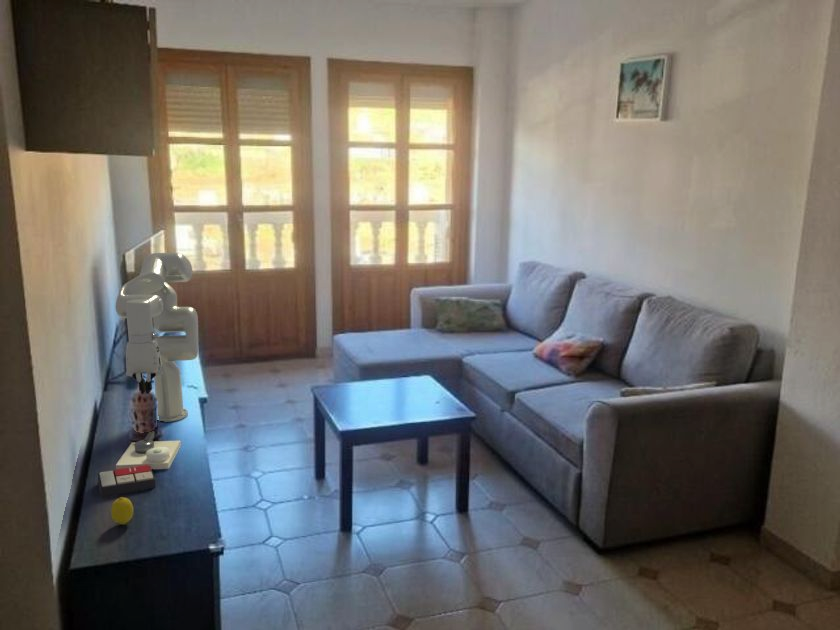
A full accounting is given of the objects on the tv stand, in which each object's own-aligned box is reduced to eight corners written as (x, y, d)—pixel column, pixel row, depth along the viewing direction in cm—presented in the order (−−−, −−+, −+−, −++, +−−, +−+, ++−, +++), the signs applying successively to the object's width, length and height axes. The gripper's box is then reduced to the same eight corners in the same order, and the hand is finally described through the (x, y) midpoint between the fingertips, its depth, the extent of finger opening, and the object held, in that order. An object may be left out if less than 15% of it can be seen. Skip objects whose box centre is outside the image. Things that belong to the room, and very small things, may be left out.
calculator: (155, 477, 208) (100, 485, 200) (155, 490, 208) (101, 499, 201) (150, 463, 217) (97, 470, 210) (150, 475, 218) (98, 483, 211)
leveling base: (132, 447, 236) (131, 435, 235) (180, 445, 238) (180, 433, 237) (116, 471, 219) (114, 457, 218) (168, 468, 220) (167, 455, 219)
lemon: (108, 529, 185) (105, 502, 183) (118, 518, 190) (115, 492, 188) (128, 530, 184) (126, 502, 183) (138, 519, 190) (135, 492, 188)
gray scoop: (143, 438, 239) (142, 431, 238) (161, 437, 240) (161, 430, 239) (132, 454, 226) (132, 446, 226) (151, 453, 227) (151, 446, 226)
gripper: (168, 334, 226) (173, 388, 230) (119, 335, 224) (125, 389, 228) (163, 340, 218) (167, 395, 223) (112, 341, 217) (118, 397, 221)
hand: (146, 392), depth 225 cm, fingers closed
